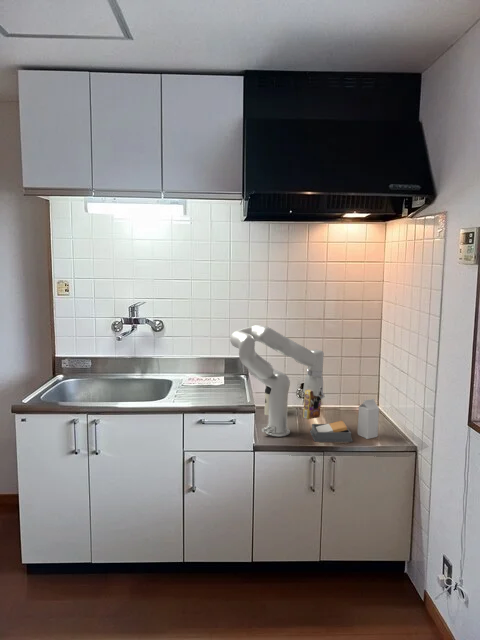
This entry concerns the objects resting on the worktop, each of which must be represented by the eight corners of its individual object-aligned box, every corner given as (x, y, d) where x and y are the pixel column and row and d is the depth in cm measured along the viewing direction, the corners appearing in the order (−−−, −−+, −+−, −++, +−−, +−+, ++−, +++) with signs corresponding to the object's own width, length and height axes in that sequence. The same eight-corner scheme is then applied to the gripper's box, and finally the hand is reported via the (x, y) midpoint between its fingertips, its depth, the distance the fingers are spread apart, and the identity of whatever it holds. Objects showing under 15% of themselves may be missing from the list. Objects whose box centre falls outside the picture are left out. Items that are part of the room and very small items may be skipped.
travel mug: (278, 413, 281) (279, 383, 278) (278, 417, 273) (278, 386, 271) (264, 412, 281) (265, 382, 279) (264, 416, 273) (264, 385, 271)
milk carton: (377, 437, 244) (379, 400, 242) (367, 439, 241) (369, 402, 239) (367, 432, 250) (369, 397, 248) (357, 434, 247) (358, 398, 245)
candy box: (308, 419, 251) (310, 391, 250) (302, 417, 255) (304, 389, 253) (320, 417, 256) (322, 389, 255) (314, 415, 260) (316, 387, 258)
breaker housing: (314, 441, 237) (314, 432, 236) (310, 432, 250) (310, 423, 249) (352, 441, 237) (353, 433, 237) (346, 432, 250) (346, 424, 250)
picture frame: (319, 436, 238) (319, 433, 238) (316, 429, 248) (315, 426, 248) (347, 429, 238) (346, 426, 238) (342, 423, 248) (342, 420, 248)
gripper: (298, 370, 257) (295, 404, 259) (322, 377, 244) (320, 412, 246) (307, 369, 262) (304, 402, 264) (332, 375, 249) (329, 410, 251)
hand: (312, 406), depth 255 cm, fingers closed on candy box, 4 cm apart
